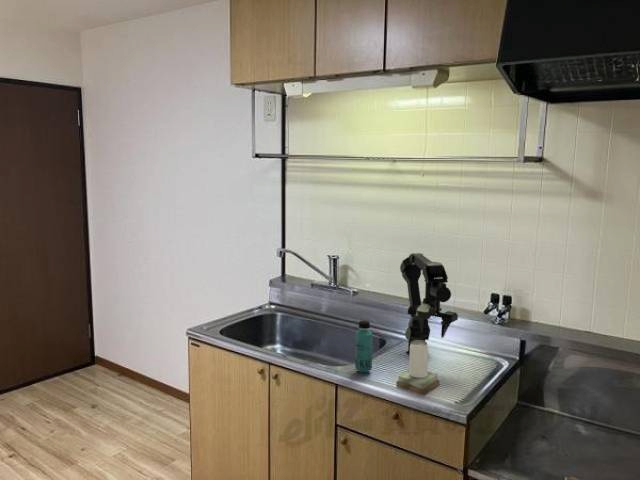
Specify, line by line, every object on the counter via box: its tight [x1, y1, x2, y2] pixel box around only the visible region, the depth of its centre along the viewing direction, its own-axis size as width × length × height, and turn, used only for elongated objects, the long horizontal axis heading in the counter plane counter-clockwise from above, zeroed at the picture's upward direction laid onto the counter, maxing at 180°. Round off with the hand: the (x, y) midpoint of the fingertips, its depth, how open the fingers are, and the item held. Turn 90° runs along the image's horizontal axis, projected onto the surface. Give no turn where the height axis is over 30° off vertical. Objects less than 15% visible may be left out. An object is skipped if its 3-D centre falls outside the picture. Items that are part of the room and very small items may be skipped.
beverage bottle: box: [354, 320, 373, 373], centre depth 198 cm, size 6×7×20 cm
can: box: [408, 340, 429, 378], centre depth 186 cm, size 6×6×12 cm
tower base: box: [396, 369, 440, 396], centre depth 187 cm, size 11×11×4 cm
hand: (431, 335), depth 202 cm, fingers open, 9 cm apart
